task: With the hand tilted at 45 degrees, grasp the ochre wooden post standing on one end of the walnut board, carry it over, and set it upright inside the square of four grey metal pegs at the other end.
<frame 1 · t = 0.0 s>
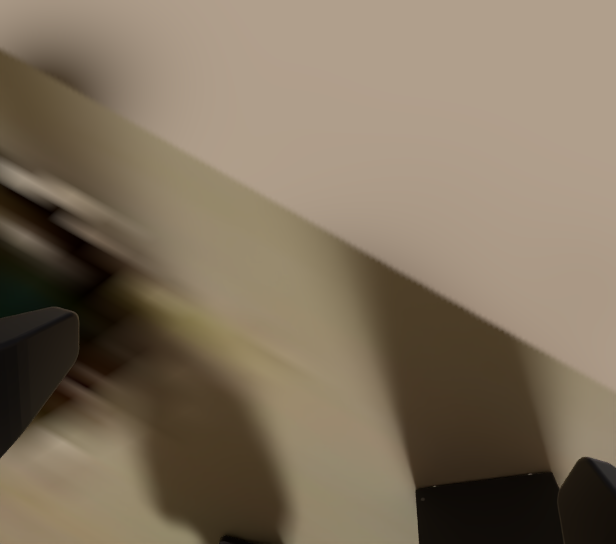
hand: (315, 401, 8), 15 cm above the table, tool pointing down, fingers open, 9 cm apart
black square column: (493, 523, 28), on the table
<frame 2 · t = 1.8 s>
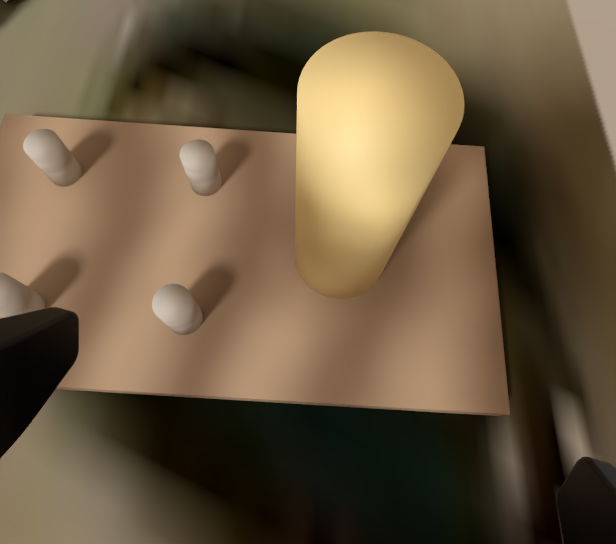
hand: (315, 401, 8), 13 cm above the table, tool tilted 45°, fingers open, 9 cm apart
post: (339, 255, 22), point 1 cm above the table, touching board
board: (234, 257, 23), on the table
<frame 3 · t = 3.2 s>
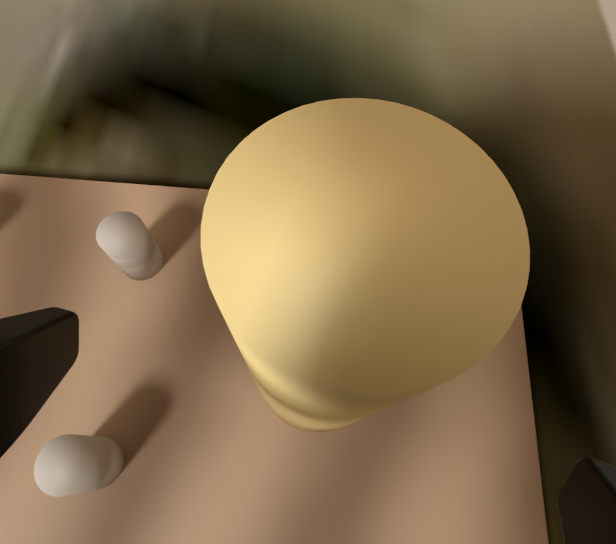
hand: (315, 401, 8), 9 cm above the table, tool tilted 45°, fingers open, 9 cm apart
post: (317, 367, 16), point 1 cm above the table, touching board
board: (177, 363, 17), on the table
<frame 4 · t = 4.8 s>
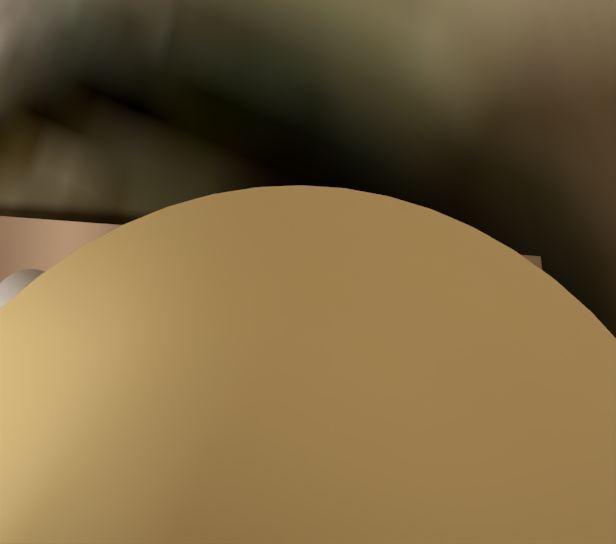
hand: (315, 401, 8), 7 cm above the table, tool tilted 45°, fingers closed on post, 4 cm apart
post: (292, 469, 12), point 1 cm above the table, touching board, gripper
board: (114, 455, 14), on the table
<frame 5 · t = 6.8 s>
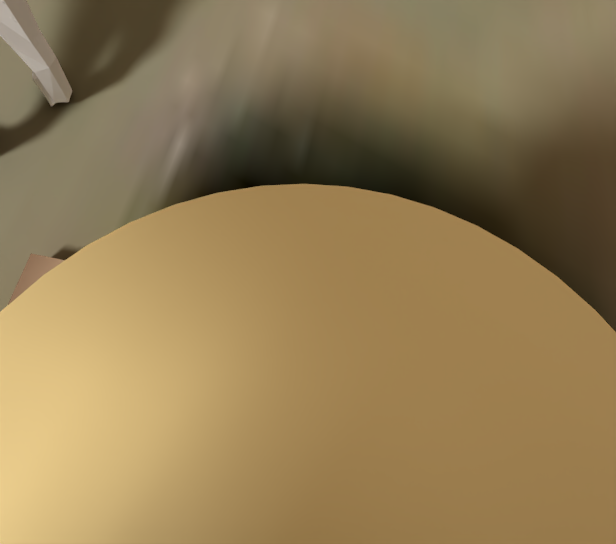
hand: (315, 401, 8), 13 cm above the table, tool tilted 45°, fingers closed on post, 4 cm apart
post: (293, 469, 12), point 8 cm above the table, touching gripper
board: (264, 463, 20), on the table
when the fingers open (8 cm above the table, at t = 9.0 s): post drops 1 cm, resting on board.
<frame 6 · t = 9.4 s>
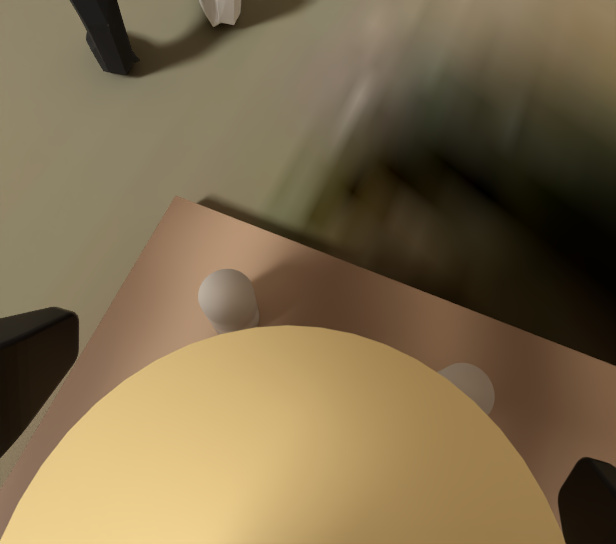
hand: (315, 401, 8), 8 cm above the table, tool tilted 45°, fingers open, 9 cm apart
post: (291, 468, 14), point 1 cm above the table, touching board
board: (445, 533, 14), on the table
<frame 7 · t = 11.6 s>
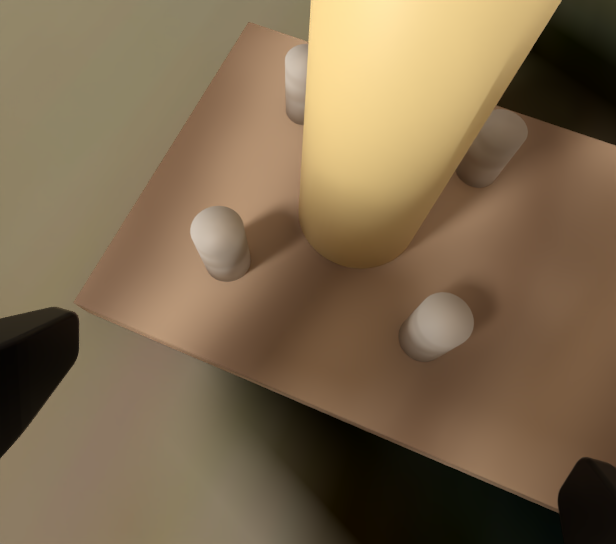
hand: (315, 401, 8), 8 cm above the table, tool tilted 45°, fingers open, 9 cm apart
post: (357, 213, 17), point 1 cm above the table, touching board
board: (483, 276, 17), on the table
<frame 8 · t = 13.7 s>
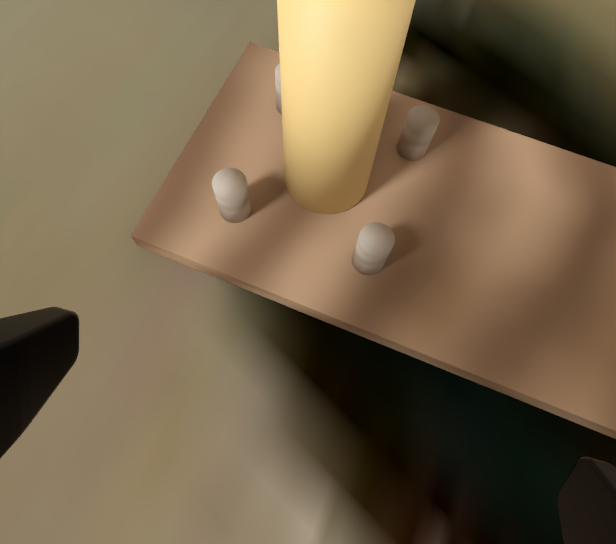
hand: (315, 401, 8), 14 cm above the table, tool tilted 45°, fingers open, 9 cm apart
post: (326, 177, 24), point 1 cm above the table, touching board
board: (415, 223, 25), on the table
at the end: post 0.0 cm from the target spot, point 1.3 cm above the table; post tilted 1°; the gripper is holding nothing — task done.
